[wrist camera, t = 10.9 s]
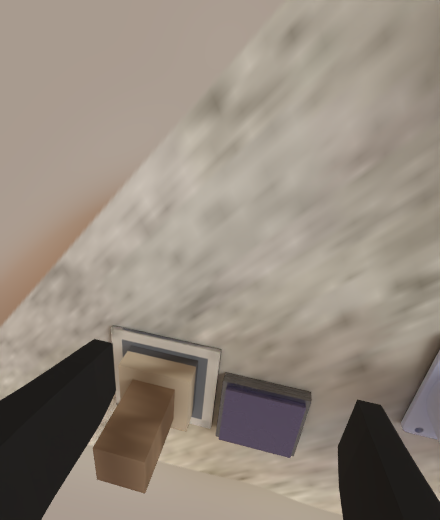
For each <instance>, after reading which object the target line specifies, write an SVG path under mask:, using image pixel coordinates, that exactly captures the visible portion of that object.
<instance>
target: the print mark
mask: <svg viewBox="0 0 440 520" xmlns="http://www.w3.org/2000/svg"><path fill="white" fill-rule="evenodd" d="M111 340H112V343H113V354H114V368H115V382H116V392H115V393H116V405H118V404H119V402H120V385H119V369H118V365H119V363H120V362H121V360H122V359H123V357H124V356H125V354H126V353H127V351H128V350H129V348H130V347H131V345H133V346H137V347H141V348H146V349H150V350H154V351H159V352H163V353H167V354H172V355H176V356H180V357H185V358H189V359H193V360H198V370H197V381H196V392H195V404H194V410H193V413H192V416H191V419H190V422H189V423H190V424H194V425H197V426H201V427H205V428H209V429H211V426H212V419H213V411H214V403H215V396H216V388H217V380H218V372H219V364H220V356H221V349H216V348H212V347H207V346H203V345H198V344H194V343H189V342H185V341H180V340H176V339H171V338H167V337H162V336H158V335H153V334H149V333H144V332H140V331H135V330H131V329H126V328H122V327H117V326H112V327H111Z"/></svg>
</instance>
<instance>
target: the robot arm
mask: <svg viewBox="0 0 440 520" xmlns="http://www.w3.org/2000/svg"><path fill="white" fill-rule="evenodd" d="M115 392H116V382H115V368H114V354H113V343H109V342H105V341H100V340H96V339H94V340H92V341H91V342H89V343H88V344H86V345H85V346H83V347H82V348H80V349H79V350H77V351H76V352H74V353H73V354H71V355H70V356H68V357H67V358H65V359H64V360H62V361H61V362H59V363H58V364H56V365H55V366H53V367H52V368H51V369H49V370H48V371H46V372H44V373H43V374H41V375H40V376H38V377H37V378H35V379H34V380H32V381H31V382H29V383H28V384H26V385H25V386H23V387H21V388H20V389H18V390H17V391H15V392H13V393H12V394H10V395H9V396H7V397H5V398H4V399H2V400H0V520H41V519H42V517H43V515H44V514H45V512H46V510H47V508H48V507H49V505H50V504H51V502H52V500H53V498H54V497H55V495H56V494H57V492H58V490H59V489H60V487H61V486H62V484H63V482H64V481H65V479H66V478H67V476H68V475H69V473H70V471H71V470H72V468H73V467H74V465H75V463H76V462H77V460H78V459H79V457H80V455H81V454H82V452H83V451H84V449H85V448H86V446H87V444H88V443H89V441H90V439H91V438H92V436H93V435H94V433H95V431H96V430H97V428H98V426H99V425H100V423H101V421H102V419H103V417H104V415H105V413H106V411H107V409H108V407H109V405H110V403H111V401H112V398H113V396H114V394H115ZM401 426H402V428H403V430H404V431H405V432H408V433H412V434H416V435H420V436H424V437H428V438H433V439H437V440H438V441H439V444H440V350H439V352H438V354H437V356H436V358H435V359H434V361H433V363H432V365H431V367H430V369H429V371H428V373H427V374H426V376H425V378H424V380H423V382H422V384H421V386H420V388H419V389H418V391H417V393H416V395H415V397H414V399H413V401H412V403H411V405H410V406H409V408H408V410H407V412H406V414H405V416H404V418H403V420H402V421H401ZM338 473H339V491H340V499H341V506H342V514H343V520H440V501H439V500H438V498H437V497H436V495H435V494H434V492H433V490H432V489H431V487H430V486H429V484H428V483H427V481H426V479H425V478H424V476H423V475H422V473H421V471H420V470H419V468H418V467H417V465H416V463H415V462H414V460H413V458H412V457H411V455H410V453H409V452H408V450H407V448H406V447H405V445H404V443H403V442H402V440H401V438H400V437H399V435H398V433H397V431H396V430H395V428H394V426H393V425H392V423H391V421H390V419H389V418H388V416H387V414H386V413H385V411H384V409H383V408H382V406H381V405H378V404H374V403H369V402H365V401H361V400H357V402H356V404H355V407H354V409H353V411H352V414H351V416H350V419H349V421H348V423H347V426H346V428H345V431H344V433H343V435H342V438H341V440H340V443H339V445H338Z"/></svg>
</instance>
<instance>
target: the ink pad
mask: <svg viewBox="0 0 440 520" xmlns="http://www.w3.org/2000/svg"><path fill="white" fill-rule="evenodd" d="M310 404H311V392H308V391H304V390H299V389H295V388H291V387H286V386H282V385H278V384H274V383H269V382H265V381H261V380H256V379H252V378H248V377H243V376H239V375H235V374H230V373H226V372H225V376H224V380H223V386H222V394H221V401H220V408H219V415H218V422H217V430H216V436H217V437H219V440H223V441H227V442H231V443H235V444H239V445H242V446H246V447H250V448H254V449H258V450H262V451H265V452H269V453H273V454H277V455H281V456H285V457H288V458H290V457H291V456H294V453H295V450H296V447H297V444H298V441H299V438H300V435H301V432H302V429H303V426H304V423H305V420H306V417H307V413H308V410H309V407H310Z"/></svg>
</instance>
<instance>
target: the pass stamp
mask: <svg viewBox="0 0 440 520" xmlns="http://www.w3.org/2000/svg"><path fill="white" fill-rule="evenodd" d="M118 369H119V385H120V402H119V404H118V405H117V407H116V409H115V411H114V412H113V414H112V416H111V417H110V419H109V421H108V423H107V424H106V426H105V428H104V430H103V431H102V433H101V435H100V436H99V438H98V440H97V442H96V443H95V445H94V447H93V453H94V460H95V468H96V475H97V479H98V480H101V481H104V482H108V483H111V484H115V485H118V486H122V487H125V488H128V489H131V490H135V491H139V492H142V493H145V492H146V490H147V487H148V484H149V482H150V479H151V477H152V474H153V471H154V469H155V466H156V464H157V461H158V458H159V456H160V453H161V450H162V448H163V445H164V443H165V440H166V437H167V435H168V432H169V430H170V428H174V429H178V430H181V431H185V432H186V431H187V428H188V425H189V422H190V419H191V416H192V413H193V410H194V404H195V392H196V381H197V370H198V360H193V359H189V358H185V357H180V356H176V355H172V354H167V353H163V352H159V351H154V350H150V349H146V348H141V347H137V346H133V345H131V347H130V348H129V350H128V351H127V353H126V354H125V356H124V357H123V359H122V360H121V362H120V363H119V365H118Z"/></svg>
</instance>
